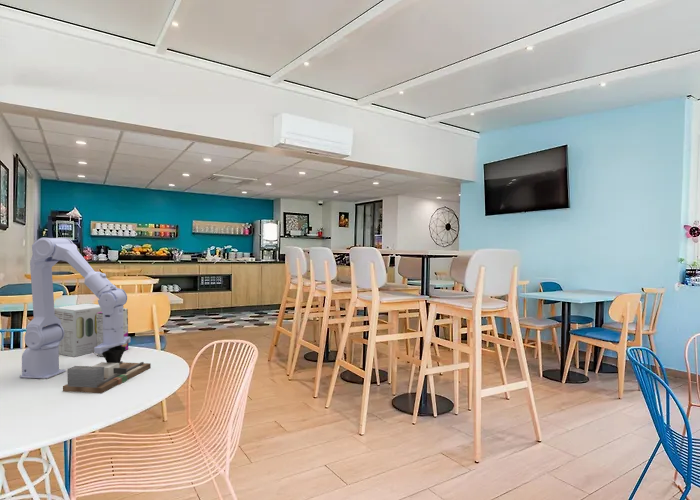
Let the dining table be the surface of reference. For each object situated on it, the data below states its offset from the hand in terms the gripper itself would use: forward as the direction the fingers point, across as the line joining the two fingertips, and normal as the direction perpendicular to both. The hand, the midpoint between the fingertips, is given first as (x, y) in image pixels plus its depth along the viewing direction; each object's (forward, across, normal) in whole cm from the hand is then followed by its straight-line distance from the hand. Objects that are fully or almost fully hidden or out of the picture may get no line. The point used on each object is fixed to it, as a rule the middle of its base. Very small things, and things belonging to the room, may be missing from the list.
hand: (113, 370), depth 134 cm
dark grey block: (0, -12, 0) cm, 12 cm away
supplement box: (+2, +28, +33) cm, 43 cm away
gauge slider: (0, -5, -2) cm, 5 cm away
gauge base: (+2, -2, 0) cm, 2 cm away
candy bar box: (+2, +26, +19) cm, 33 cm away
